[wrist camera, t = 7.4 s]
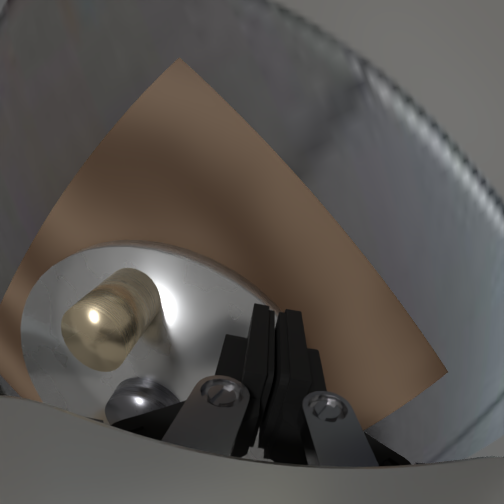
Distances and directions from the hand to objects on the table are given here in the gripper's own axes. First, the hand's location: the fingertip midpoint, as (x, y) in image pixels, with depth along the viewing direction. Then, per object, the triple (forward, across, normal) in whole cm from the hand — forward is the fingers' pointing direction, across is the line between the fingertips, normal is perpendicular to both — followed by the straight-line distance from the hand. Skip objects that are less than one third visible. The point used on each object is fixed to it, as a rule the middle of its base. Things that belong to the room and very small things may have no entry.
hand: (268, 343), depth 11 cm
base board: (+4, +5, +6) cm, 9 cm away
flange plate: (+2, +5, +6) cm, 8 cm away
